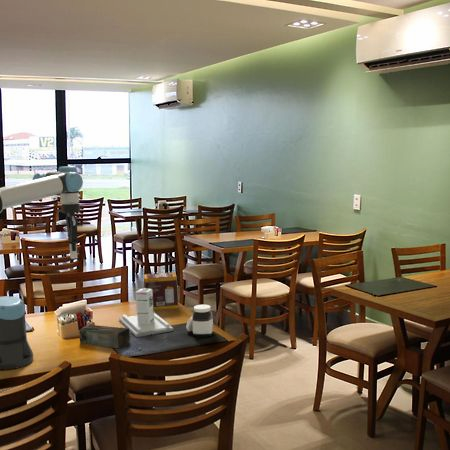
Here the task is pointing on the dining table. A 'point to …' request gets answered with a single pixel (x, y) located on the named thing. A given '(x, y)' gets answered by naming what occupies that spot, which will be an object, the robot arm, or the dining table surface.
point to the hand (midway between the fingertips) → (74, 258)
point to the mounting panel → (145, 326)
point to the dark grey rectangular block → (104, 336)
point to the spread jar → (201, 321)
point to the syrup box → (145, 306)
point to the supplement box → (162, 289)
